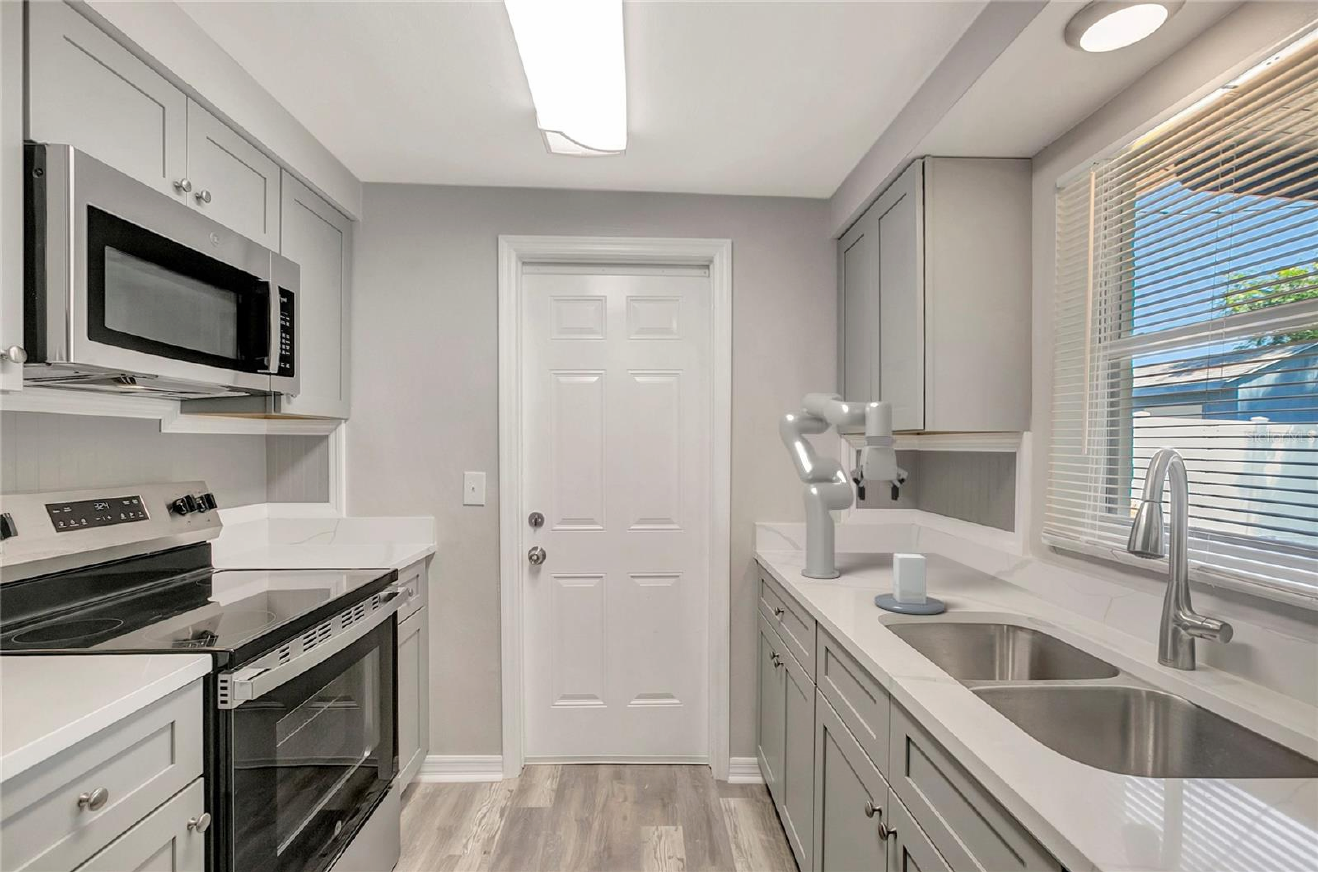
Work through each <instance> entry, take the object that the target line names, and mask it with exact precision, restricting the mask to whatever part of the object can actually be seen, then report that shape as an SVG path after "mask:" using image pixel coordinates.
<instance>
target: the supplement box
mask: <svg viewBox="0 0 1318 872" xmlns="http://www.w3.org/2000/svg"><path fill="white" fill-rule="evenodd" d="M892 561H893V562H892V563H893V564H892V565H893V567H892V568H893V573H892V575H893V580H892V581H893V583H892V584H893V588H892V589H893V592H892V593H893V597H894V598H895V599H896V600H897V602H898V603H907V604H926V596H927V557H924V556H923V555H921V554H920V553H900V552H899V553H893V560H892Z"/></svg>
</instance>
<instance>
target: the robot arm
mask: <svg viewBox="0 0 1318 872" xmlns="http://www.w3.org/2000/svg"><path fill="white" fill-rule="evenodd" d="M801 406H802V409H803V410H791V411H788V412H785V413H784V414H782V415H781V417H780V419H779V422H778V423H779V425H778V426H779V428H778V430H779V435H780V439H781V441H782V443H783V445H784V446H785V448H786V450H788V452H789V454H790V457H791V460H792V462H793V465H794V468H795V470H796V472H797V475H798V477H799V479H800V481H802V483H804V484H808V485H807V486H806V487H805V488H804V490H803V492H802V493H803V494H802V498H803V503H804V510H805V511H804V512H805V568H803V569H802V570H801V575H802V576H804V577H808V578H814V579H835V578H839V577H840V572H839V571H837V570H835V566H836V565H835V561H836V560H835V556H836V555H835V550H836V549H835V548H836V547H835V546H836V545H835V544H836V543H835V541H836V536H835V530H836V528H835V527H836V526H835V522H834V519H833V516H832V515H831V513H830V511H842V510H848V509H850V508H851V507H852V506H853V504H854V501H855V495H854V491H853V488H852V485H851V483H850V480H849V479H848V476H847V474H846V471H845V469H844V467H843V465H842V464H841V462H840V461H839V460H838V459H837V458H835V457H830V456H829V457H828V456H819V455H818V454H817V453H816V451H815V448H814V446H813V444H812V443H811V442H810V441H809V440H808V439H807V438H806V437H805V436H803V435H822V434H824V433H825V432H827V431H828V430H829V429H830V428H831V427H832V425H837V426H842V427H860V428H861V427H862V428H863V427H864V431H865V433H864V434H865V436H864V437H865V438H864V439H865V441H864V443H865V444H864V445H865V446H863V447H862V449H861V453H860V458H859V460H860V461H859V466H858V467H856V468H853V469H852V470H850V471H849V472H848V475H849V476H850V478H851V480H852V482H853V483H854V485H856V486H857V498H859V500H860V501H866V487H865V484H866V483H867V482H868V481H871V482H873V481H874V482H875V481H876V482H881V481H883V482H884V481H885V482H886V481H887V482H890V483H891V485H892V486H891V487H890V488H891V490H890V492H891V493H890V494H891V495H890V496H891V498H890V499H891V500H892V501H894V502H895V501H896V502H897V501H898V499H899V498H900V488H901V486H902V484H904V483H905V482H906V478H907V477H908V474H909V472H907V471H906V470H905V469H902V468H900V467H898V465H897V456H896V451H895V448H894V447H893V445H895V444H897V439H896V438H893V432H892V431H893V406H892V404H891V403H890V402H889V401H870V402H859V401H858V402H857V401H845V400H844V398H843V397H842V396H841V394H838V393H836V392H820V391H815V392H809V393H808V394H806V395H805V396H804V397H803V399H802V402H801ZM857 474H859V475H858V476H859V477H857V476H856V475H857ZM898 474H900V477H899V478H898V479H897V477H898Z"/></svg>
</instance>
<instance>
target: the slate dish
mask: <svg viewBox="0 0 1318 872" xmlns="http://www.w3.org/2000/svg"><path fill="white" fill-rule="evenodd" d="M874 604H875V606H877V607H879V608H882V609H884V610H887V611H891V612H898V613H900V614H901V613H903V614H912V615H934V614H935V615H936V614H939V613H943V612H944V611H945V609H946V608H945V606H946V604H945V603H944V601H942V600H940V599H937V598H934V597H930V596H927V595H926V604H907V603H898V602H897V600H896V599H895V598H894V597H893V592H892V593H882V594H881V593H880V594H878V595H876V596H874Z"/></svg>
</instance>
